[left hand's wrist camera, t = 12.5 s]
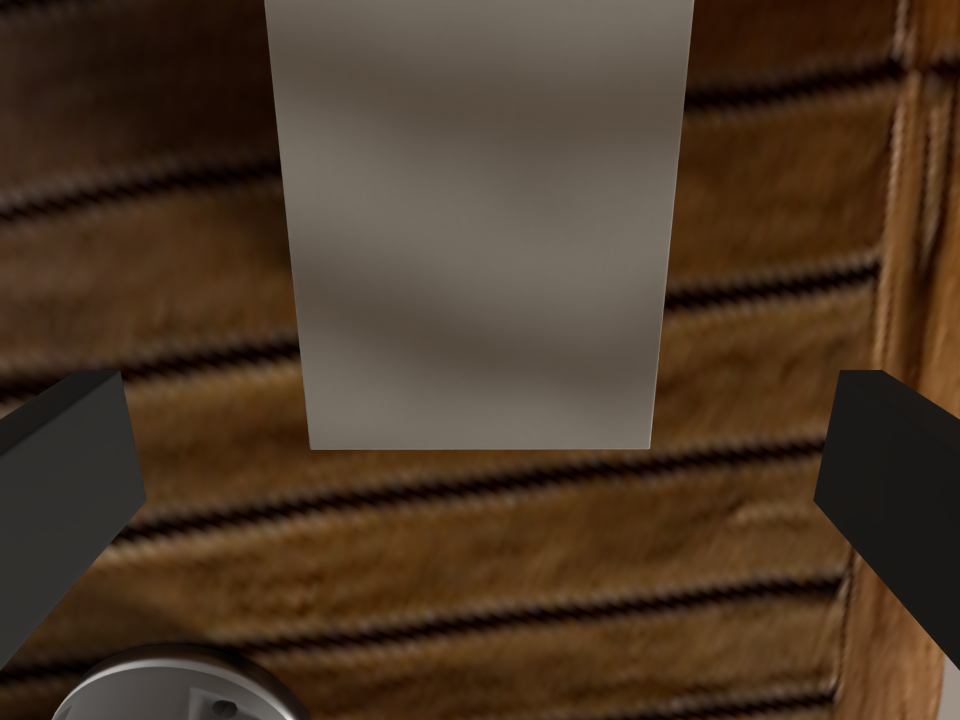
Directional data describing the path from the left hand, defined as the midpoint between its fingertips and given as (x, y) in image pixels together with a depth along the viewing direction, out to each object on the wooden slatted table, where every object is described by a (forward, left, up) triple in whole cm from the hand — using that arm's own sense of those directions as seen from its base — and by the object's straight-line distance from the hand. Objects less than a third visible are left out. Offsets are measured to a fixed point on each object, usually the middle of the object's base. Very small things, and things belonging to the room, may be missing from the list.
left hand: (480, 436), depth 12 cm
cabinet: (+1, +6, -19) cm, 20 cm away
